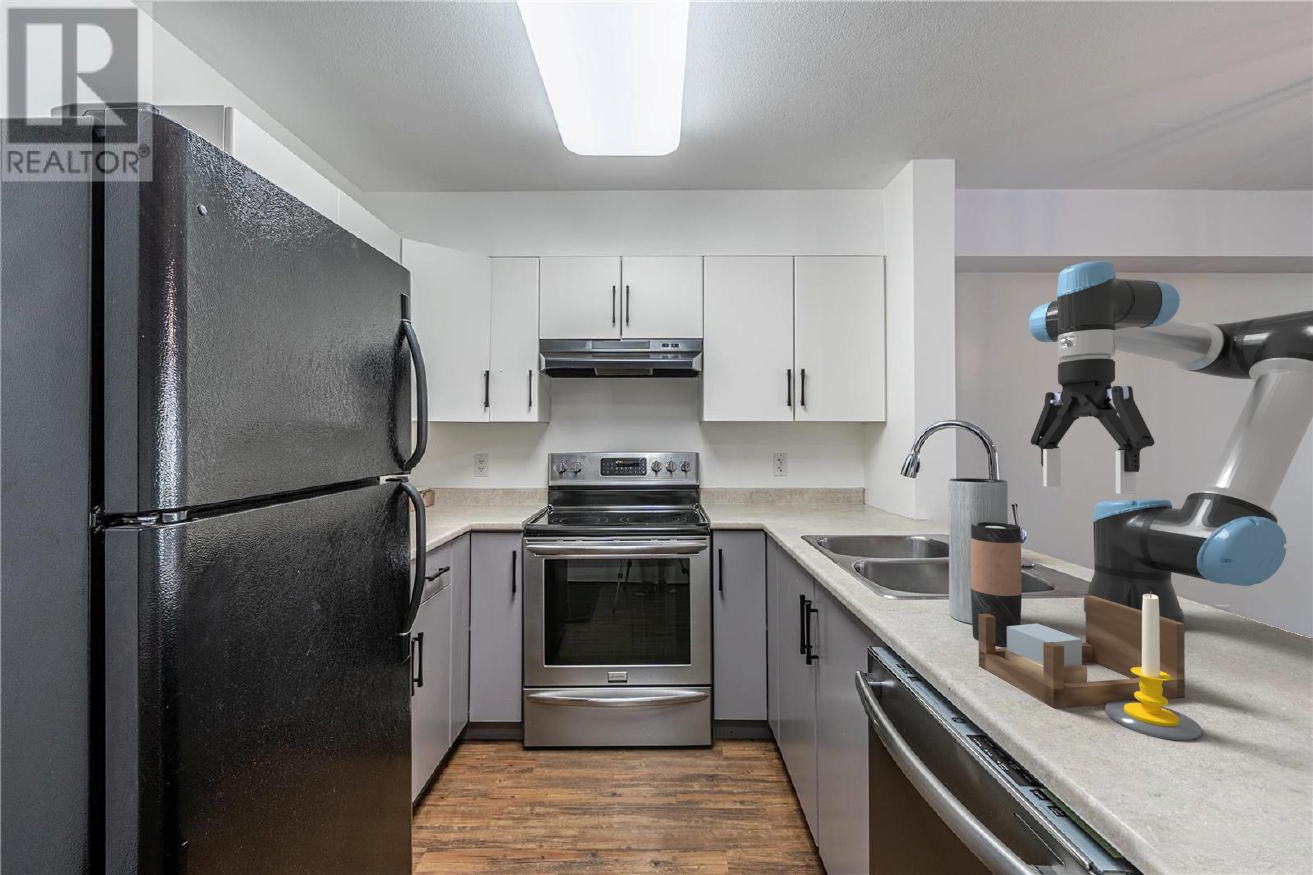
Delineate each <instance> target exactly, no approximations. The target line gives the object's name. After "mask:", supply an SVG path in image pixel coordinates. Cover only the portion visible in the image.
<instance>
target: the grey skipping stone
mask: <svg viewBox="0 0 1313 875" xmlns="http://www.w3.org/2000/svg"><path fill="white" fill-rule="evenodd" d="M1128 703H1141V701H1130V700H1116V701H1111V702H1108V703H1107V704H1105V710H1104V711H1105V714H1106V716H1107V717H1108V718H1109V719H1110V720H1112V721H1113V722H1115V723H1117V724H1118V725H1120V726H1122V727H1125V728H1127V729H1129V730H1131V731H1134V732H1137V733H1140V734H1144V735H1147V736H1150V737H1154V738H1159V739H1164V740H1165V739H1166V740H1171V741H1180V742H1181V741H1183V742H1184V741H1194V740H1197V739H1200V737H1201V735H1202V727H1201V725H1200V724H1199V723H1198V722H1197V721H1195V720H1194V719H1193V718H1191V717H1189V716H1187V715H1185V714H1183V713H1180V712H1178V711H1176V710H1174V709H1170V708H1167V707H1165V706H1161V707H1162V708H1163V709H1166V710H1168V711H1170V712H1172V713H1174V714H1175V715H1176V716H1177V717H1178V718H1179V724H1178V725H1176V726H1172V727H1165V726H1157V725H1152V724H1148V723H1145V722H1142V721H1139V720H1137V719H1135V718H1133V717H1131V716H1129V715H1128V714H1127V713H1126V712H1125V711H1124V705H1125V704H1128Z"/></svg>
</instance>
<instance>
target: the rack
mask: <svg viewBox="0 0 1313 875" xmlns="http://www.w3.org/2000/svg"><path fill="white" fill-rule="evenodd" d="M1085 596H1086V595H1085ZM1159 635H1160V671H1162V672H1164V673H1167V674H1169V675H1170V676H1171V677H1172V679H1171V680H1166V681H1163V683H1162V688H1163V692H1162V696H1163V697H1165V698H1166V699H1167V700H1169V699H1170V700H1171V699H1182V698H1185V697H1186V696H1185V695H1186V693H1185V692H1186V690H1185V689H1186V688H1185V687H1186V686H1185V685H1186V683H1185V682H1186V681H1185V680H1186V678H1185V674H1186V673H1185V671H1186V669H1185V667H1186V666H1185V665H1186V664H1185V658H1186V657H1185V654H1186V653H1185V650H1186V649H1185V642H1186V641H1185V622H1184V623H1180V622H1177V621H1174V620H1170V619H1167V618H1164V617H1161V616H1159ZM996 647H997V646H996V644H995V617H994V616H992V615H990V614H979V641H978V666H979V667H980V668H982V669H983V670H985V671H987V672H989V673H991V674H993V675H994V676H996V677H998V678H999V679H1001V680H1003V681H1005V682H1006V683H1008V684H1010V685H1012V686H1013V687H1016V688H1018V689H1019V690H1021V691H1023V692H1024V693H1026V694H1028V695H1030V696H1032V697H1033V698H1035V699H1037V700H1039V701H1040V702H1042V703H1044V704H1046V705H1048V706H1049V707H1051V708H1052V709H1057V708H1070V707H1082V706H1094V705H1106V704H1107V703H1108V702H1111V701H1116V700H1130V701H1139V700H1137V699H1136V698H1135V697H1134V693H1135V692H1137V691H1140V686H1139V683H1140V678H1139V675H1136V674H1134V673H1133V672H1132V671H1131V668H1134V667H1142V611H1141V610H1138V609H1134V608H1131V607H1128V606H1125V605H1121V604H1118V603H1115V602H1111V601H1108V600H1105V599H1102V598H1098V597H1095V596H1086V612H1085V642H1082V663H1089V662H1090V663H1092V662H1093V663H1094V664H1098V665H1099V666H1102V667H1104V668H1107V669H1109V670H1111V671H1113V672H1116V673H1119V674H1121V675H1123V676H1124V677H1128V678H1122V679H1108V680H1106V679H1105V680H1095V681H1087V682H1079V683H1065V684H1064V646H1063V645H1060V644H1058V643H1056V642H1043V671H1044V679H1043V678H1041V677H1039V676H1037V675H1035V674H1033V673H1031V672H1029V671H1027V670H1025V669H1023V668H1021V667H1019V666H1017V665H1015V664H1013V663H1012V662H1010V661H1008V660H1006V659H1005V648H1006V647H1003V648H1002V647H1000V648H996ZM1139 702H1140V701H1139Z"/></svg>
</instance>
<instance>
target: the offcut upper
mask: <svg viewBox="0 0 1313 875" xmlns="http://www.w3.org/2000/svg"><path fill="white" fill-rule="evenodd" d="M1043 642H1056V643H1058V644H1060V645H1063V646H1064V666H1072V665H1080V664H1081V665H1083V662H1082V643H1083V639H1082V638H1079V637H1076V636H1074V635H1071V634H1068V633H1065V632H1063V631H1060V630H1057V629H1054V628H1052V627H1049V626H1046V625H1042V624H1040V623H1028V624H1021V625H1017V626H1007V647H1006V648H1007V650H1008V651H1010V652H1013V653H1015V654H1017V655H1020V656H1022V657H1024V658H1027V659H1029V660H1031V661H1034V662H1036V663H1038V664H1041V665H1043Z"/></svg>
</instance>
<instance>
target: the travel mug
mask: <svg viewBox="0 0 1313 875" xmlns="http://www.w3.org/2000/svg"><path fill="white" fill-rule="evenodd" d="M1021 536H1022V532H1021V526H1019V525H1017V524H1012V523H1008V524H1006V523H994V522H980V523H978V524H977V525H973V524H971V604H972V624H971V627H972V637H973V638H974V639H975V640H977V641H978V642H979V614H990V615H992V616H994V617H995V644H996V647H1003V648H1007V626H1017V625H1022V624H1021V623H1022V592H1023V591H1022V590H1023V589H1022V587H1023V584H1022V537H1021Z"/></svg>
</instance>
